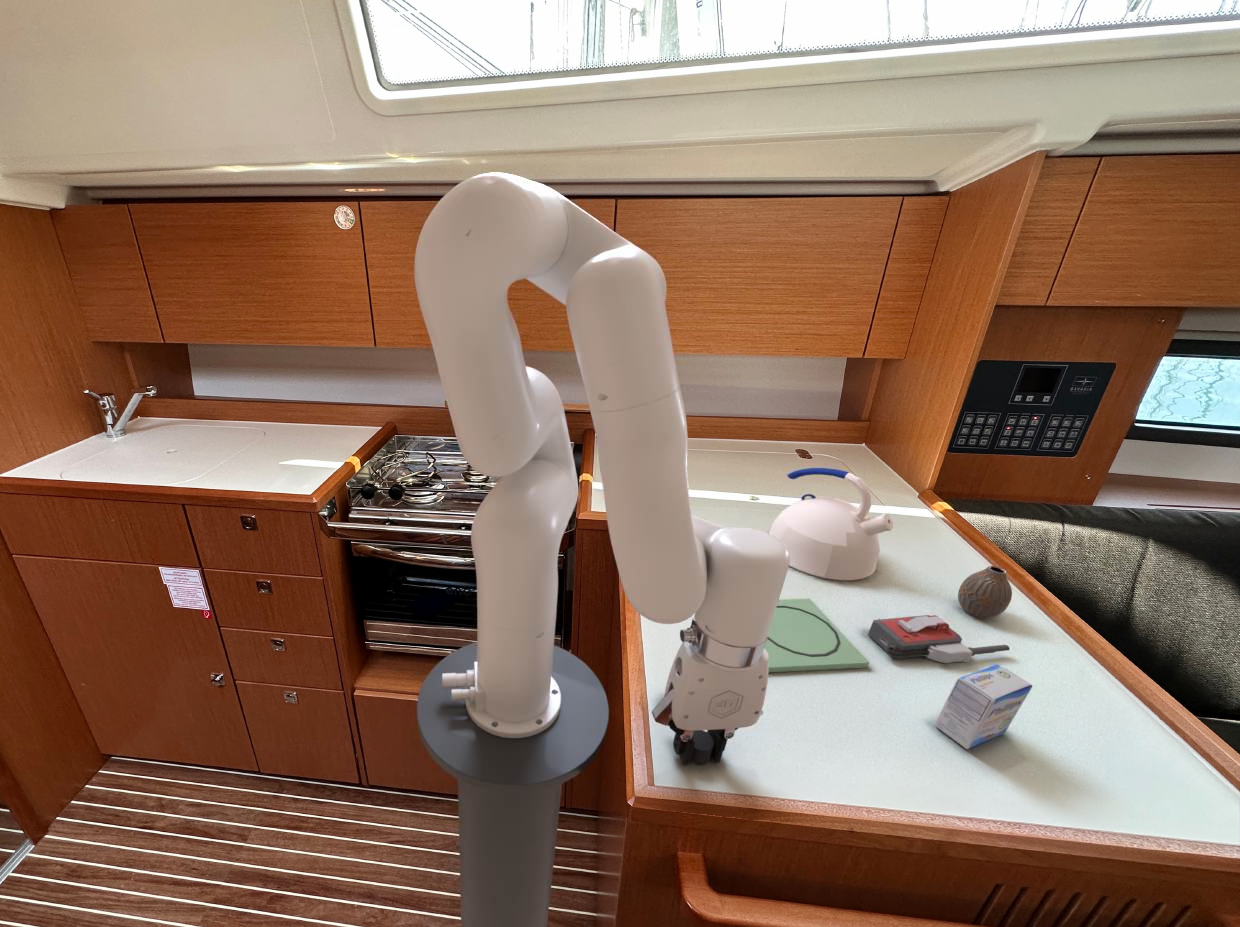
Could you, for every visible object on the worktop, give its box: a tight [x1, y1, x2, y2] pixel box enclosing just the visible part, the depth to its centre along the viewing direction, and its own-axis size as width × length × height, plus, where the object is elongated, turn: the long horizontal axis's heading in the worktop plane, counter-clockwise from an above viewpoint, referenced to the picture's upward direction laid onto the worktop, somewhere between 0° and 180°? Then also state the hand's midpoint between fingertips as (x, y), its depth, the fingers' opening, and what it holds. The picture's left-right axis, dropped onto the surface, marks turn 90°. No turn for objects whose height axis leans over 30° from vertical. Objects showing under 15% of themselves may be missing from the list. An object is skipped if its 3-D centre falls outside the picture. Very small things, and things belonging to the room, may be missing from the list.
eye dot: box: [690, 730, 714, 766], centre depth 68 cm, size 3×3×3 cm
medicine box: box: [934, 663, 1033, 750], centre depth 72 cm, size 8×4×9 cm, turn 112°
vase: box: [957, 565, 1013, 619], centre depth 96 cm, size 7×7×9 cm
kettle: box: [768, 467, 894, 582], centre depth 109 cm, size 20×21×18 cm
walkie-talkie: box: [867, 614, 1010, 664], centre depth 88 cm, size 9×4×20 cm
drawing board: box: [764, 598, 870, 673], centre depth 90 cm, size 20×16×1 cm
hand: (697, 753), depth 69 cm, fingers closed on eye dot, 3 cm apart
